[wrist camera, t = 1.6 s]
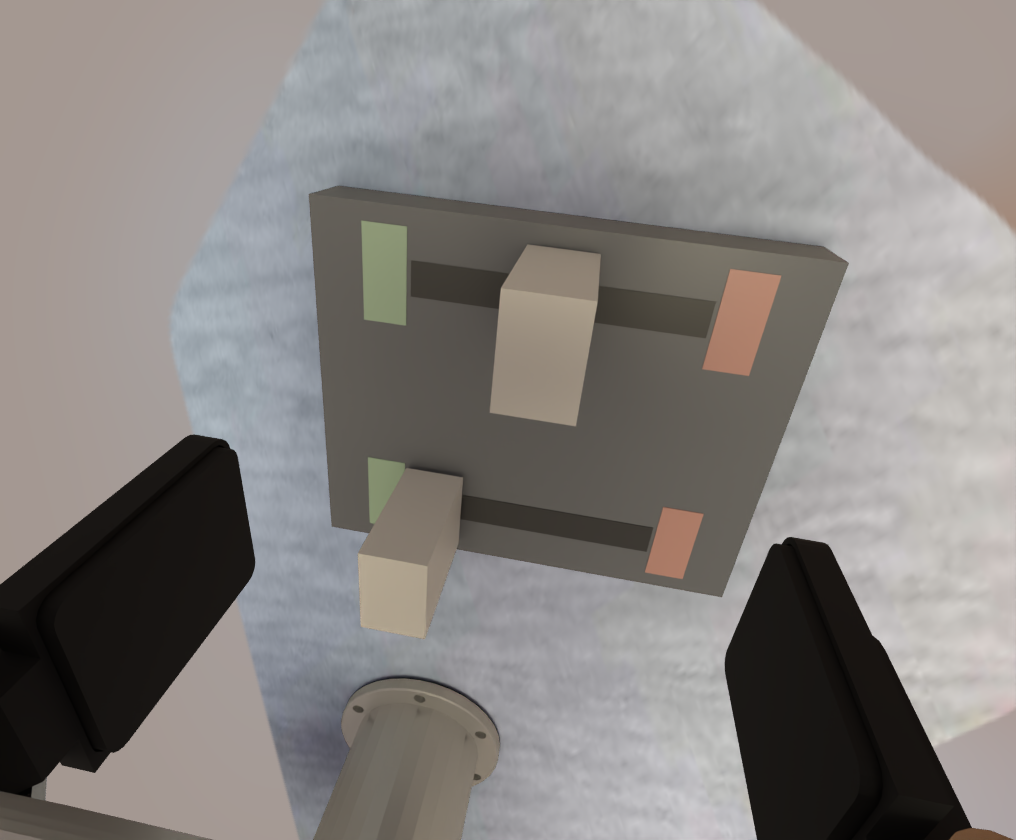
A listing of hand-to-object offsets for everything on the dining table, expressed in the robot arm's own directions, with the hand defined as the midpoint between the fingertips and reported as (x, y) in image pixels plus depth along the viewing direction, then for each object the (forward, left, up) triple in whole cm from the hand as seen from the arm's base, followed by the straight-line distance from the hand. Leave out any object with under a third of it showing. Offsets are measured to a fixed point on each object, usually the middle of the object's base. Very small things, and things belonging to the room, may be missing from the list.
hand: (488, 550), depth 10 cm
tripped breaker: (0, 0, -16) cm, 16 cm away
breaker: (-12, +5, -16) cm, 21 cm away
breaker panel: (-6, 0, -20) cm, 21 cm away
